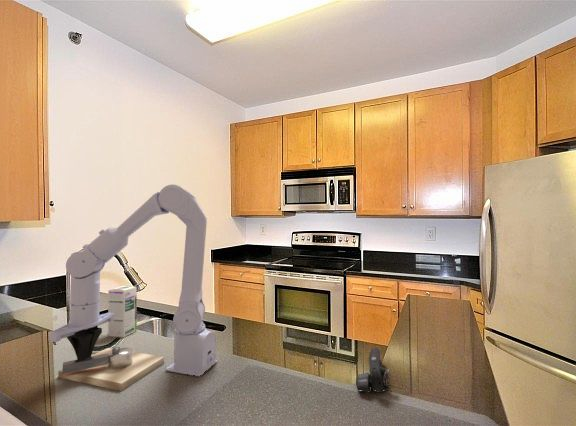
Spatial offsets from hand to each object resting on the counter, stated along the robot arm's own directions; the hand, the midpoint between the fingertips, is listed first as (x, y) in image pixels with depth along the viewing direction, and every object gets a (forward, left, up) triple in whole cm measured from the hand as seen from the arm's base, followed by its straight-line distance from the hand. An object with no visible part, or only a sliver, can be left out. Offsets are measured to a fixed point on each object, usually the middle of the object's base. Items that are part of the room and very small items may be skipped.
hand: (83, 361), depth 70 cm
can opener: (-64, -19, -3) cm, 67 cm away
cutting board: (-5, -4, -3) cm, 7 cm away
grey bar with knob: (-4, 0, -1) cm, 4 cm away
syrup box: (+12, -23, -3) cm, 26 cm away
